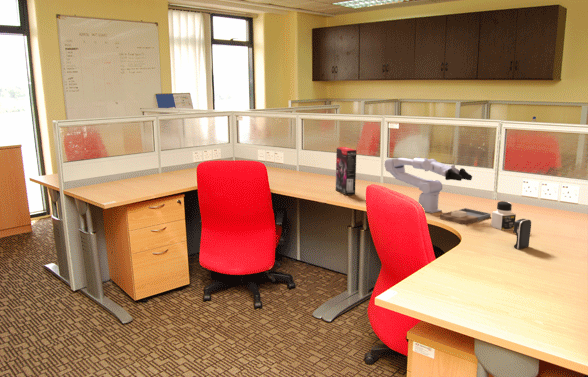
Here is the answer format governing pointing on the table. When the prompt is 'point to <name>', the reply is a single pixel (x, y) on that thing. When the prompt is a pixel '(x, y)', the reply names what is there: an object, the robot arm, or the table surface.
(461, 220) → the board
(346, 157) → the graphics card box
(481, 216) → the tray
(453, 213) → the tile
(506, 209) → the medicine bottle
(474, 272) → the table surface
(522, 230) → the battery charger
